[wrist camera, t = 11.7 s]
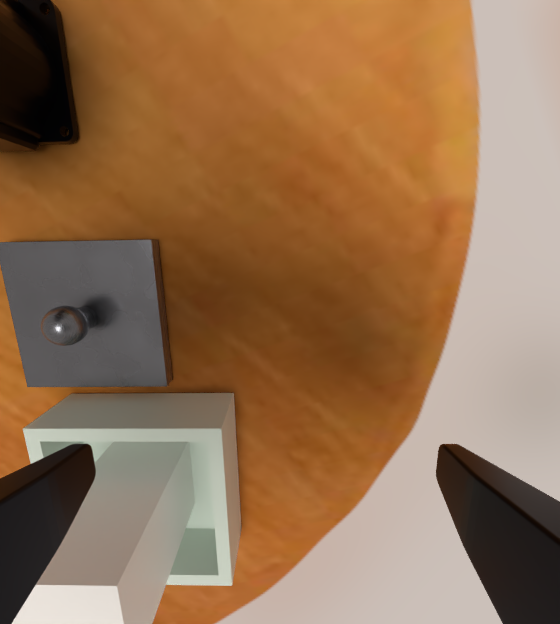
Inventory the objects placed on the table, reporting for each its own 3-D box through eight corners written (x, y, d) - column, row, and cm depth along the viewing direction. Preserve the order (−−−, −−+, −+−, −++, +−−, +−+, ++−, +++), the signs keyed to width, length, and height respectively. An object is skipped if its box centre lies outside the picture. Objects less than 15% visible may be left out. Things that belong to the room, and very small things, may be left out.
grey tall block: (124, 502, 22) (18, 674, 13) (114, 439, 21) (-10, 584, 12) (194, 502, 22) (133, 677, 13) (188, 439, 21) (116, 585, 12)
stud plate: (10, 242, 19) (-57, 243, 15) (158, 239, 19) (126, 240, 15) (39, 380, 21) (-14, 410, 17) (172, 379, 21) (147, 410, 17)
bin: (71, 393, 21) (22, 428, 17) (233, 393, 21) (221, 428, 17) (96, 526, 24) (58, 583, 20) (241, 527, 23) (232, 585, 20)
